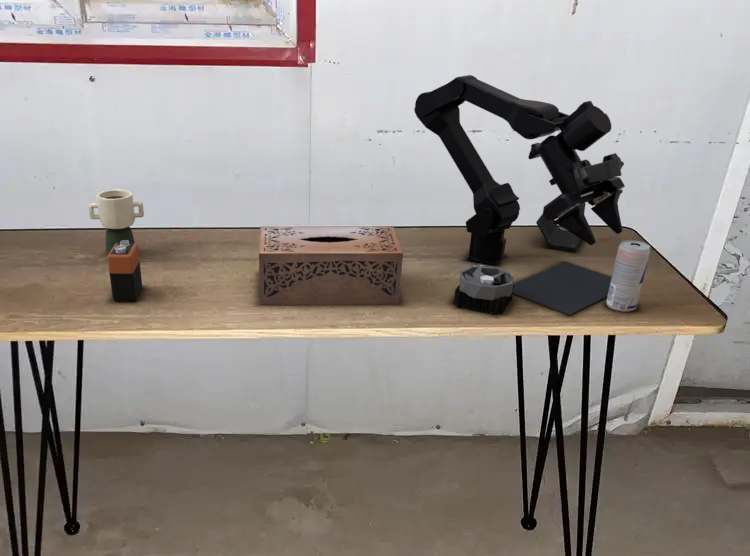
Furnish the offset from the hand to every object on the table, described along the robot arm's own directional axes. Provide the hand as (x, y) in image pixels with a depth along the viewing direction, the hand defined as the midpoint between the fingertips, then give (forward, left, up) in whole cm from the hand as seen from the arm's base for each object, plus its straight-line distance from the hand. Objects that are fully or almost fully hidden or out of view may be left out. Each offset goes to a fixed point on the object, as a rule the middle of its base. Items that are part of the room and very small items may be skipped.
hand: (607, 238), depth 141 cm
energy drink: (+5, -2, -12) cm, 13 cm away
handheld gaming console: (-12, +28, -12) cm, 33 cm away
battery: (-79, -40, -12) cm, 89 cm away
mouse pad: (-6, +2, -12) cm, 13 cm away
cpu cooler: (-18, -12, -12) cm, 25 cm away
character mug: (-93, -24, -12) cm, 97 cm away
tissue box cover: (-47, -20, -12) cm, 52 cm away
